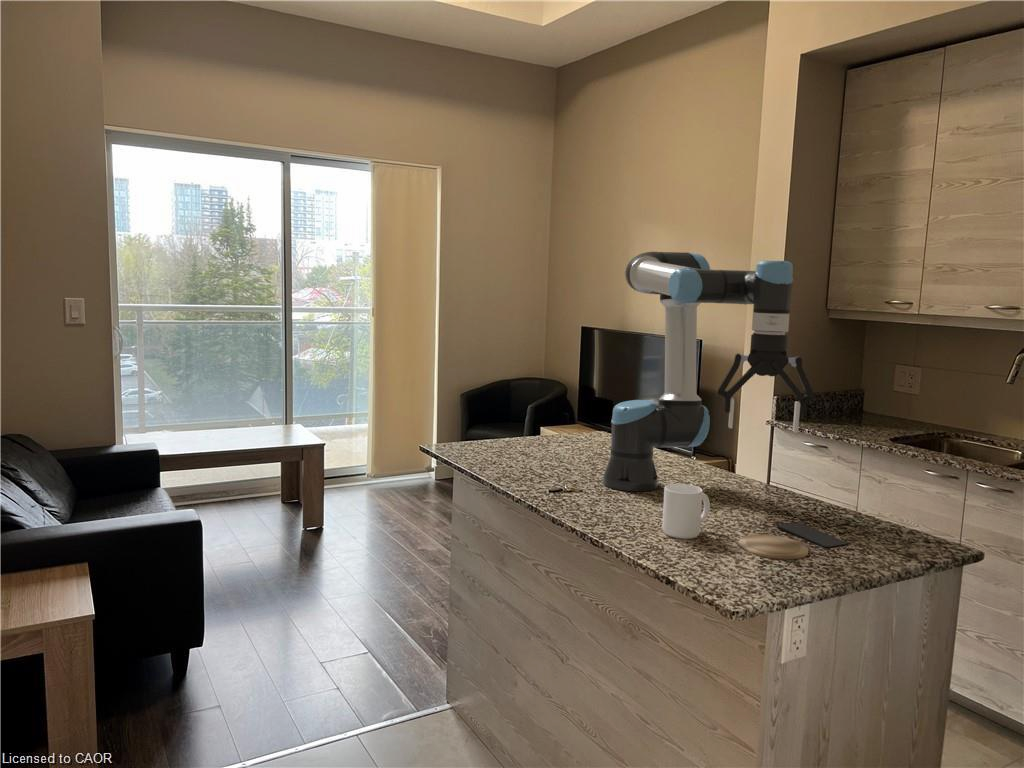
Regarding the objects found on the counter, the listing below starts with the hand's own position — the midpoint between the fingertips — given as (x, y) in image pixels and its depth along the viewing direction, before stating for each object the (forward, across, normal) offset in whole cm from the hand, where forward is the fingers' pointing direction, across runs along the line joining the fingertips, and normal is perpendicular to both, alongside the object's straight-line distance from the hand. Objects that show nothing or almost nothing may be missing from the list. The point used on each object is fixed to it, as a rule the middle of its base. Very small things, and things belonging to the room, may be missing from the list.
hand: (762, 429), depth 162 cm
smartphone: (+24, +12, +3) cm, 28 cm away
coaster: (+24, +3, -8) cm, 25 cm away
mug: (+24, -15, -3) cm, 28 cm away
